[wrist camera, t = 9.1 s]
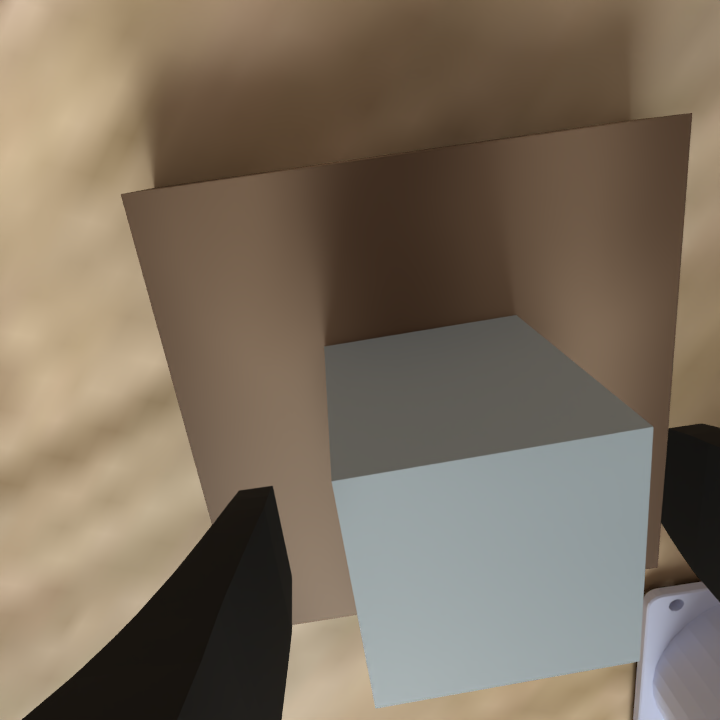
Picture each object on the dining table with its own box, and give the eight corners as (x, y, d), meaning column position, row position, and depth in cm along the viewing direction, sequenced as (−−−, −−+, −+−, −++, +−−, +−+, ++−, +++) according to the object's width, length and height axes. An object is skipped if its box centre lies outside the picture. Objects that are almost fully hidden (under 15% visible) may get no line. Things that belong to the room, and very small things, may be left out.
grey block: (515, 314, 13) (654, 426, 8) (522, 478, 14) (639, 661, 9) (324, 346, 13) (332, 481, 7) (353, 507, 14) (375, 708, 9)
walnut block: (619, 121, 14) (691, 113, 11) (606, 505, 19) (657, 567, 16) (160, 186, 14) (120, 194, 11) (253, 559, 18) (241, 633, 15)
